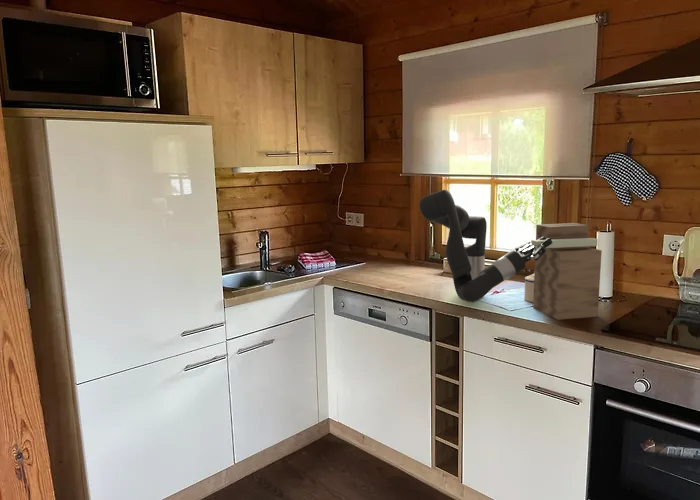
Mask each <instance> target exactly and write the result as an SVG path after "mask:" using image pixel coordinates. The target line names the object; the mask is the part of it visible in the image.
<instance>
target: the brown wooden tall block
mask: <svg viewBox="0 0 700 500" xmlns="http://www.w3.org/2000/svg"><path fill="white" fill-rule="evenodd" d="M535 228H536V229H535V231H536V232H535V240H538V239H540V238H541V237H545V238H546V239H548V238H551V239H576V238H589V224H582V223H577V222H567V223H566V222H565V223H545V224H544V223H543V224H539V223H538V224H536V227H535ZM537 249H538V248H537ZM545 250H546V252H545V253H544V254H543V255H542V256H541V257H540V258H539V259H538V260H536V261H535V260H534V272H535V275H534V300H533V302H532V304H533V305H532V307H533V309H534V310H537V311H539V312H541V313H543V314H545V315H547V316H549V317H551V318H553V319H555V320H569V319H571V320H573V319H584V318H597V317H599V302H600V287H601V285H600V284H601V268H602V254H603V253H602V249H597V248H593V247H590V246H585V247H561V248H545Z"/></svg>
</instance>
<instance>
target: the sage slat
mask: <svg viewBox="0 0 700 500" xmlns="http://www.w3.org/2000/svg"><path fill="white" fill-rule="evenodd" d="M551 240H552V244H551V245H549V246H548V247H546V248H561V247H585V246H587V247H597V246H598V238H595V237H588V238H576V239H551ZM543 241H544V240H536V239H531V240H530V242H531V247H532V246H536V245H538V244H540V243H542V242H543ZM538 248H539V247H538Z"/></svg>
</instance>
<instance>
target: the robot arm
mask: <svg viewBox="0 0 700 500" xmlns="http://www.w3.org/2000/svg"><path fill="white" fill-rule="evenodd" d="M419 211H420V212H421V215H422V217H424V219H426V220H427V221H428V222H431V223H434V224H439V225H441V226H444V227H445V228H446V229H448V230H449V231H448V237H447V242H446V246H445V258H446V261H447V264H448V266H449V267H448V268H449V270H450V272H451V274H452V280H453V286H454V289H455V292H456V294H457V296H458V298H459V299H460V300H462V301H463V302H464V301H465V302H468V303H475V302H478V301H479V300H480V299H482V298H484V297H485V296H486V295H487V294H488V293H489V292H490V291H491V290H492V289H494V288H496V286H499V285H500V284H501V283H503V282H505V281H506V280H509V279H510V278H512V277H513V276H515V275H516V274H518V273H519V272H522V270H524V269H525V268H526V263H527V262H529V261H531V260H534V262H535V261H536V260H538V259H539V258H540V257H541V256H542V255H543V254H544V253H545V252H546V250H545V248H546V247H548V246H549V245H551V244H552V240H551V238H548V239H546V238H545V237H541V238H540V239H538V240H544V241H543V242H542V243H540V244H538V245H536V246H532V247H531V241H528V242H525V243H524V244H521V245H520V246H517V247H515V248H514V249H513V250H510V251H508V252H507V253H505V254H504V255H502V256H501V257H499V258H498V259H496V260H495V261H493V263H492V264H490V265H488V266H487V267H485V263H486V262H485V261H486V260H485V258H486V256H485V255H486V240H487V239H486V238H487V227H488V225H487V223H488V222H487V220H486V218H485V217H484V216H470V215H469V213H468V211H467V210H466V209H465V208H463V207H461V206H460V205H458V204H455V200H454V197H453V196H452V194H451V192H450V191H449V190H448V189H441V190H439V191H436V192H433V193H429V194H428V195H425V196H423V197H422V198H421V199H420V200H419ZM463 238H464V239H471V240H475V242H474V243H472V244H470V245H468V246H465V244H464V239H463ZM538 247H539V248H538ZM537 248H538V249H537Z"/></svg>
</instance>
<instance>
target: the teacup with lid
mask: <svg viewBox="0 0 700 500" xmlns="http://www.w3.org/2000/svg"><path fill="white" fill-rule="evenodd" d="M534 275H535V271H533V273H531V274H530V275H528V276H525V277H524V298H523V299H524V300H525V301H526V302H529V303H533V300H534Z"/></svg>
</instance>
